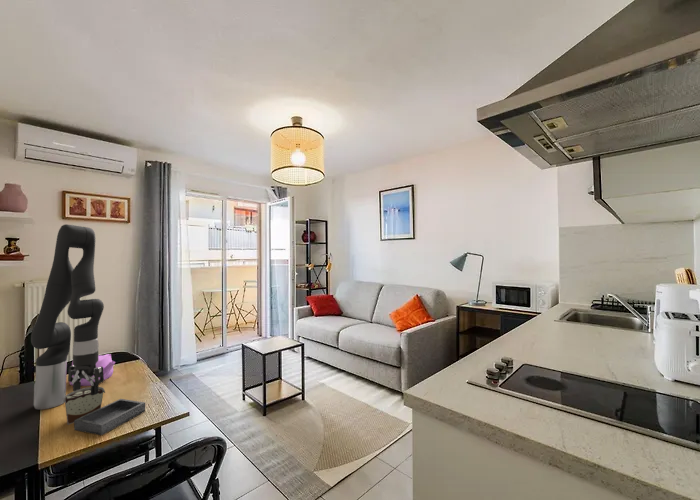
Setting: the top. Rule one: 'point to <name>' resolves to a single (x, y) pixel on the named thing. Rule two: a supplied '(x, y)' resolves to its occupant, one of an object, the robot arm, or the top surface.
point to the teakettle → (103, 362)
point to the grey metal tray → (109, 416)
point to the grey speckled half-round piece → (82, 403)
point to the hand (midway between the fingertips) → (85, 393)
